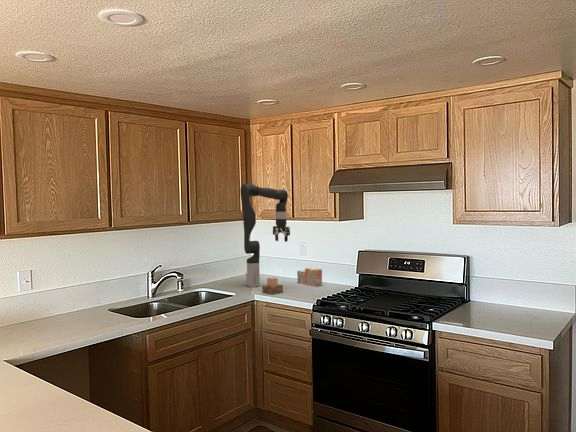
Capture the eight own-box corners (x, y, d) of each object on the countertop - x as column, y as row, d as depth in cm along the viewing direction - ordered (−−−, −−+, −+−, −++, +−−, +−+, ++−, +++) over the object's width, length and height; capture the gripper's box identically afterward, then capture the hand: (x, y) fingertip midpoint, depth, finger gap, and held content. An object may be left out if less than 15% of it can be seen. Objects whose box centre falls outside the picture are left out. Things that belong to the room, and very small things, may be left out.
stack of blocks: (297, 283, 367) (297, 266, 367) (303, 282, 371) (303, 265, 370) (315, 287, 350) (315, 270, 350) (322, 285, 354) (322, 269, 353)
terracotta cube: (267, 285, 332) (267, 278, 332) (272, 284, 336) (272, 277, 335) (272, 286, 328) (272, 278, 328) (277, 285, 332) (277, 277, 332)
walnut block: (262, 292, 332) (262, 285, 332) (272, 290, 339) (272, 283, 339) (272, 294, 325) (272, 287, 325) (283, 292, 333) (282, 285, 332)
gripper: (269, 218, 342) (270, 241, 343) (285, 218, 333) (285, 242, 333) (277, 217, 348) (277, 240, 349) (292, 218, 338) (292, 241, 339)
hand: (281, 241), depth 341 cm, fingers open, 8 cm apart
